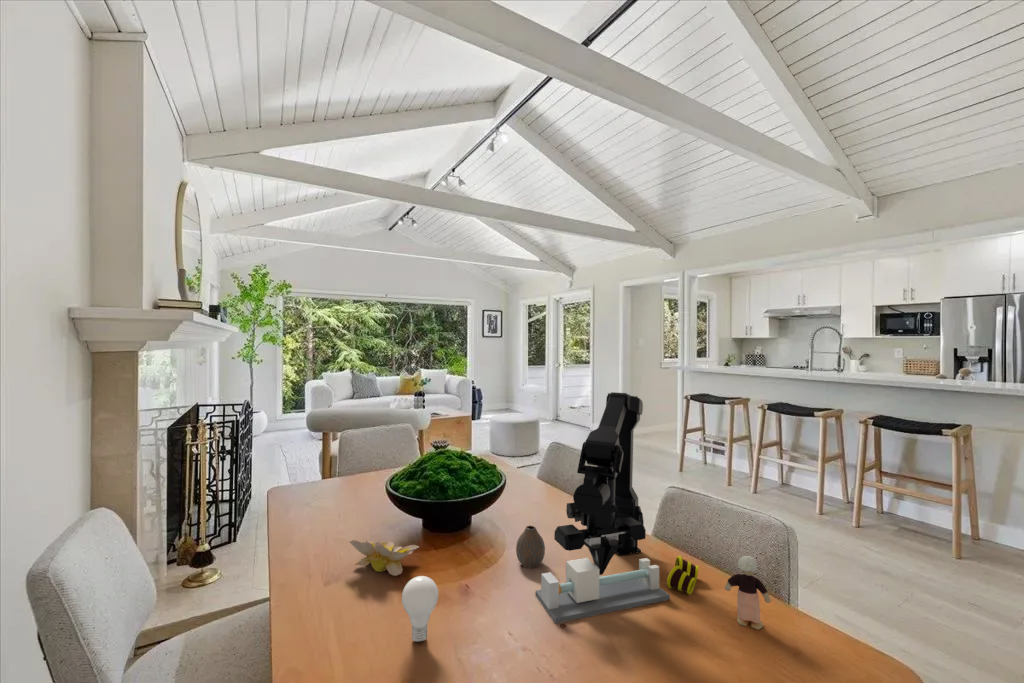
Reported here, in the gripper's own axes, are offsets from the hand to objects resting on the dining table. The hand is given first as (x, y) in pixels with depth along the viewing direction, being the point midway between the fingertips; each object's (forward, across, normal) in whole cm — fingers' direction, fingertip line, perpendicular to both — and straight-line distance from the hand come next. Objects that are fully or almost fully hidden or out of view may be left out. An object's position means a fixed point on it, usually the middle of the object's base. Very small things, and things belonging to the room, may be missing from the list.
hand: (599, 573), depth 94 cm
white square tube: (+4, +4, 0) cm, 5 cm away
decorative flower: (+5, +41, -27) cm, 49 cm away
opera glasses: (+6, -21, +1) cm, 21 cm away
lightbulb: (+5, +37, +2) cm, 38 cm away
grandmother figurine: (+5, -23, +16) cm, 28 cm away
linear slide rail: (+5, -1, 0) cm, 5 cm away
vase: (+5, +8, -18) cm, 21 cm away
